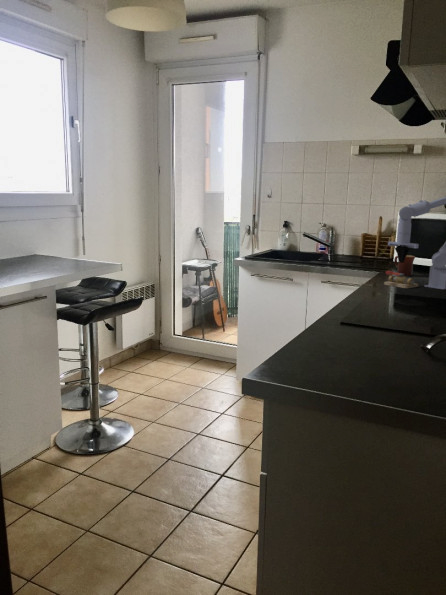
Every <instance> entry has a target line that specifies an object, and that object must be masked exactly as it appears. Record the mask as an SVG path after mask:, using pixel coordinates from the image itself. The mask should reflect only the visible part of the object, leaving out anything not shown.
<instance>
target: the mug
mask: <svg viewBox="0 0 446 595" xmlns="http://www.w3.org/2000/svg"><path fill="white" fill-rule="evenodd" d="M415 258H416V256H415V255H410V254H407V255H406V258H405V260H404V263H399V259H398V255H396V256H395V257H394V260H393V261H394V265H395V267H396V268H397V270H396V271H397V273H404V277H410V276H412V274H413V272H414V270H413V269H414V261H415Z"/></svg>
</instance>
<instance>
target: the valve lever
mask: <svg viewBox="0 0 446 595" xmlns="http://www.w3.org/2000/svg"><path fill="white" fill-rule="evenodd" d="M385 275H389V276H391V275H392V276H404V273H398V272H395V271H392V270H386V271H385ZM404 277H405V276H404Z"/></svg>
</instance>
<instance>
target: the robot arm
mask: <svg viewBox="0 0 446 595" xmlns="http://www.w3.org/2000/svg"><path fill="white" fill-rule="evenodd" d="M445 205H446V196H443V197H441V198H438V199H435V200H432V201H427V200H422V199H421V200H419V202H416V203H413V204H411V203H409V204H408V206H404V207H402V208H401V209H400V210H399V211H398V216H399V219H398V224H397V234H396V235H397V236H396V241H393V240H392V241H391V240H390V241H388V242H387V246H389V247H394V250H395V252H396V254H397V255H396V256H398V258H397V260H398V259H399V263H404V260H405V258H406V255H408V253H409V252H410V251H411V249H419V243H413V242H411V233H412V217H414V218H416V217H419V216H422V215H426V214H428V213H430V211H431V210H432V209H435V208H438V207H441V206H445ZM431 263H432V265H430V266H429V274H428V284H424V287H425V288H430V289H436V290H437V289H438V290H446V241H445V242H444V244H442V246H440V248H439V249H438V251H437V252H435V253H434V254H433V255H432V256H431Z"/></svg>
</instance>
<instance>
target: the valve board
mask: <svg viewBox="0 0 446 595" xmlns="http://www.w3.org/2000/svg"><path fill="white" fill-rule="evenodd" d="M415 282H416V281H415V279H414V278H410V277H409V278H408V276H399V275H389V277H388V281H384V282H383V285H385V286H391V287H396V288H397V287H398V288H402V289H411V288H412V289H413V288H416V287H417V288H418V287H419V283H415Z"/></svg>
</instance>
